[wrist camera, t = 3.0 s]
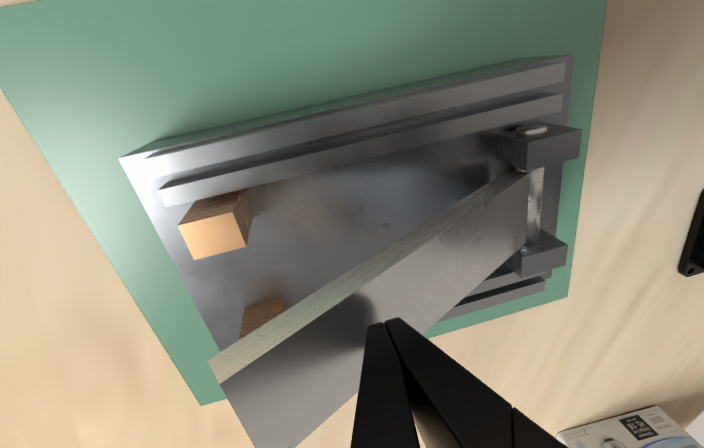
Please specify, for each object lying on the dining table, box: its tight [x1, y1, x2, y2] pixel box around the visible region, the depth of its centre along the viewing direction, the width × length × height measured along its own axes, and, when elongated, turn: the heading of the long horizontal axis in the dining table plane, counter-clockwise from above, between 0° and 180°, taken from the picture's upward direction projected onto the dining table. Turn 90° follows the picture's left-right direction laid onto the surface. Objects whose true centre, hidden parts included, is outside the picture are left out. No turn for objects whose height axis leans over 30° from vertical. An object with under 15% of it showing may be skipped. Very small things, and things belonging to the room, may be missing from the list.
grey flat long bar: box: [207, 170, 530, 448], centre depth 10 cm, size 3×12×1 cm, turn 101°
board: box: [0, 0, 607, 406], centre depth 16 cm, size 20×24×1 cm
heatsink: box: [118, 54, 582, 352], centre depth 14 cm, size 10×16×5 cm, turn 101°
